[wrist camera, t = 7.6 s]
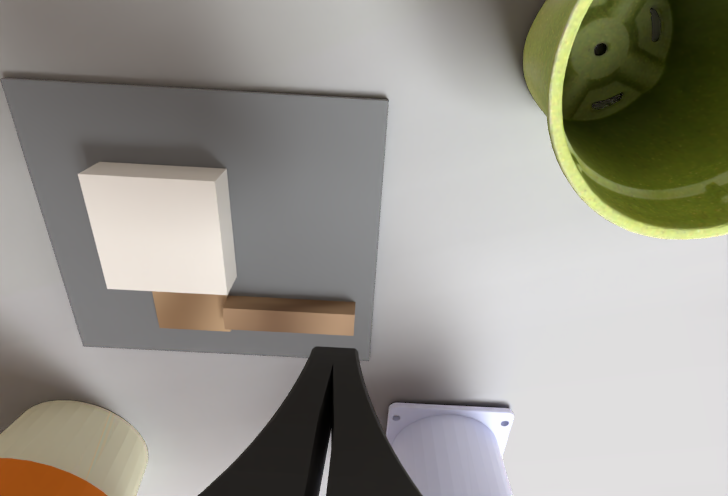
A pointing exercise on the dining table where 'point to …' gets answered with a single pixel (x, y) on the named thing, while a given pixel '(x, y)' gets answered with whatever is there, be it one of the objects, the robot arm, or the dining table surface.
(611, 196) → the plant pot
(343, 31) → the dining table surface
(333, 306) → the wooden plank
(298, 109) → the mat
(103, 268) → the tile
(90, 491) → the reusable coffee cup
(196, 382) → the dining table surface
